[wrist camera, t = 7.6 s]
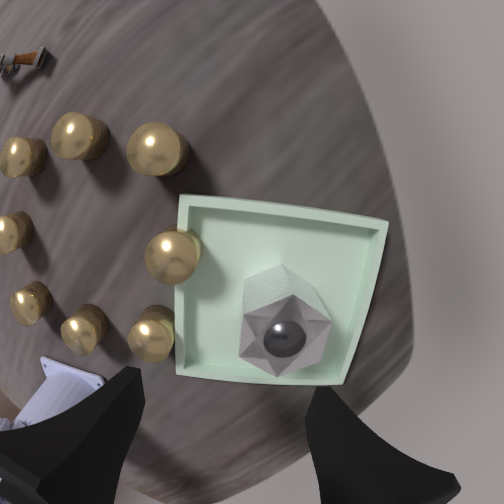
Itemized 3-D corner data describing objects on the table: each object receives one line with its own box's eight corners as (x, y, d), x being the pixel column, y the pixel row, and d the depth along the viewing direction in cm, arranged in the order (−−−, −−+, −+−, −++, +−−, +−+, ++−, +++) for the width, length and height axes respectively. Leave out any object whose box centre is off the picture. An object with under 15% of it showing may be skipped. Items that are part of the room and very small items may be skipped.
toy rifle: (-5, 63, 12) (-22, 52, 8) (55, 60, 15) (43, 45, 12) (-11, 79, 12) (-29, 70, 8) (49, 77, 16) (35, 64, 12)
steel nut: (300, 334, 19) (315, 379, 14) (238, 329, 19) (236, 375, 14) (315, 266, 18) (338, 298, 13) (246, 259, 18) (246, 290, 13)
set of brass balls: (198, 355, 20) (192, 380, 17) (25, 314, 19) (7, 327, 16) (217, 117, 16) (211, 105, 13) (17, 131, 15) (-6, 129, 12)
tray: (337, 373, 21) (342, 384, 19) (179, 362, 20) (176, 373, 19) (378, 218, 17) (388, 221, 16) (185, 193, 17) (179, 194, 15)
